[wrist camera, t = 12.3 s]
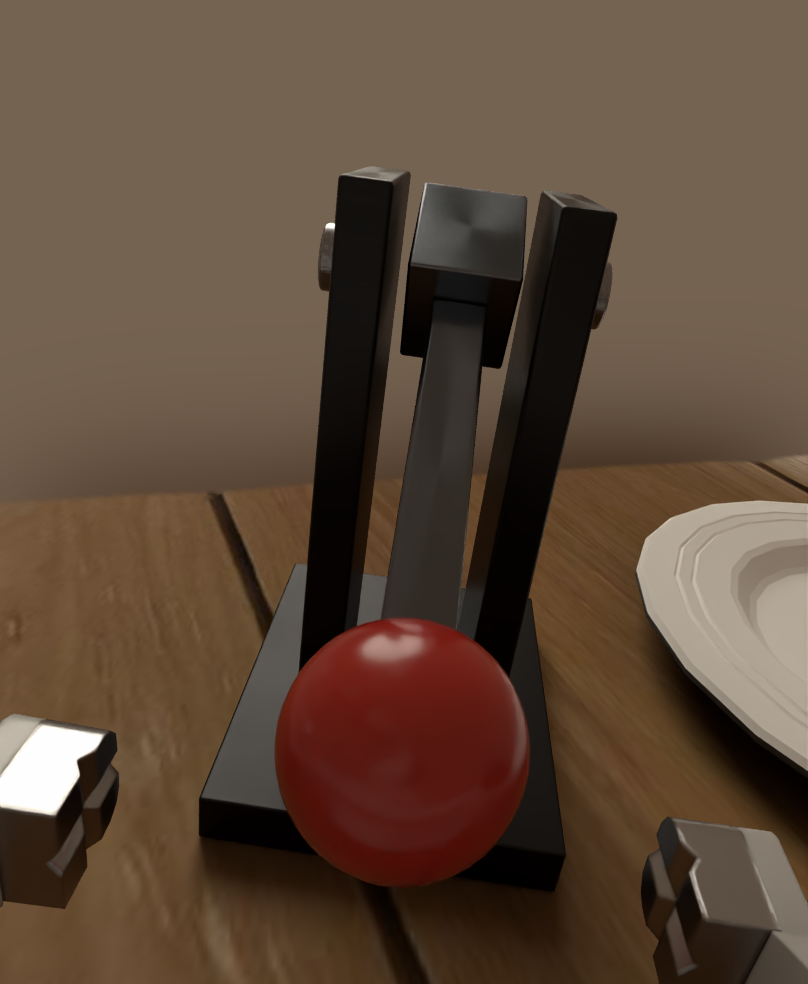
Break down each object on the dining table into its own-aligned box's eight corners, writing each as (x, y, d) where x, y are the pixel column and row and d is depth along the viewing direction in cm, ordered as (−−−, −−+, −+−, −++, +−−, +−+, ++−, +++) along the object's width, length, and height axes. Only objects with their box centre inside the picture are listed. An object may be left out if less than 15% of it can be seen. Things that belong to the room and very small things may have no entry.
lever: (498, 922, 10) (555, 884, 8) (257, 885, 11) (230, 831, 8) (528, 306, 18) (562, 177, 15) (389, 287, 18) (398, 154, 15)
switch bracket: (554, 892, 17) (760, 245, 11) (197, 837, 17) (203, 166, 11) (524, 627, 26) (627, 196, 20) (292, 592, 26) (324, 153, 20)
